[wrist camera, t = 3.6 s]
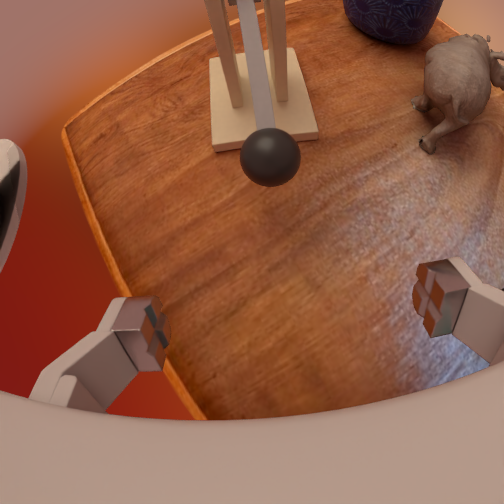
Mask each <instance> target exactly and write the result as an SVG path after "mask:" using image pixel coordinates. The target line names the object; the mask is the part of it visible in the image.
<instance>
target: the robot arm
mask: <svg viewBox="0 0 504 504" xmlns="http://www.w3.org/2000/svg"><path fill="white" fill-rule="evenodd" d="M416 276H417V277H418V279H419V280H418V281H417V283H416V284H415V285H414V287H413V293H412V298H413V305H414V308H415V310H416V312H417V314H418V315H420V316H422V317H423V318H424V321H423V325H424V327H425V329H426V330H427V332H428V334H429V336H430V338H434V337H438V336H442V335H446V334H450V333H452V335H454V336H455V337H456V338H458V339H459V340H460V341H462V342H463V343H464V344H466V345H467V346H468V347H469V348H471V349H472V350H473V351H475V352H476V353H477V354H478V355H480V356H481V357H482V358H484V359H485V360H486V361H487V362H489V363H490V365H489V367H488V368H485V369H483V370H480V371H478V372H475V373H472V374H470V375H467V376H464V377H461V378H459V379H456V380H453V381H450V382H447V383H444V384H441V385H438V386H435V387H431V388H428V389H425V390H421V391H418V392H414V393H411V394H407V395H403V396H399V397H395V398H391V399H387V400H383V401H379V402H374V403H370V404H365V405H360V406H355V407H350V408H344V409H338V410H332V411H326V412H319V413H312V414H304V415H295V416H286V417H275V418H262V419H245V420H168V419H152V418H139V417H129V416H120V415H112V414H108V413H107V412H106V411H105V410H106V409H107V408H108V407H109V406H110V405H111V403H112V402H113V401H114V400H115V399H116V398H117V397H118V395H119V394H120V393H121V392H122V391H123V390H124V389H125V387H126V386H127V385H128V384H129V383H130V382H131V380H132V379H133V378H134V377H135V376H136V375H137V374H138V371H162V370H163V366H164V362H165V358H166V353H165V351H164V349H165V348H166V347H167V346H168V345H169V343H170V339H171V327H170V323H169V320H168V317H167V316H166V315H165V314H164V313H162V312H161V309H162V306H163V305H162V303H161V301H160V299H159V297H158V296H156V295H153V296H135V297H120V298H115V299H113V300H112V302H111V303H110V305H109V307H108V309H107V311H106V313H105V315H104V317H103V319H102V321H101V322H100V324H99V326H98V328H97V330H96V332H91V333H90V334H88V335H87V336H86V337H84V338H83V339H82V340H80V341H79V342H78V343H77V344H75V345H74V346H73V347H71V348H70V349H69V350H68V351H66V352H65V353H64V354H62V355H61V356H60V357H59V358H57V359H56V360H55V361H53V362H52V363H51V364H50V365H48V366H47V367H46V368H45V369H44V370H42V372H41V374H40V376H39V378H38V380H37V382H36V384H35V386H34V388H33V390H32V392H31V394H30V396H29V398H24V397H20V396H17V395H13V394H9V393H6V392H3V391H0V504H504V291H502V290H500V289H497V288H495V287H493V286H491V285H489V284H483V283H482V282H481V280H480V279H479V278H478V277H477V276H476V274H475V273H474V272H473V271H472V270H471V269H470V268H469V266H468V265H467V264H466V263H465V262H464V261H463V260H462V259H461V258H460V257H457V256H456V257H452V258H447V259H444V260H439V261H433V262H427V263H421V264H419V266H418V268H417V272H416Z"/></svg>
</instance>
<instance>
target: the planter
mask: <svg viewBox="0 0 504 504" xmlns="http://www.w3.org/2000/svg"><path fill="white" fill-rule="evenodd" d="M442 2H443V0H343V4H344V9H345V13H346V15H347V17H348V18H349V20H350V21H351V22H352V23H353V24H354V25H355V26H356V27H357V28H359V29H360V30H361V31H363V32H365V33H367V34H368V35H370V36H373V37H375V38H377V39H380V40H383V41H386V42H390V43H395V44H414V43H417V42H420V41H421V40H423V39H424V38H425V37H426V36H427V34H428V33H429V31H430V29H431V27H432V26H433V24H434V22H435V19H436V17H437V15H438V12H439V10H440V7H441V5H442Z"/></svg>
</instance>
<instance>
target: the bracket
mask: <svg viewBox="0 0 504 504" xmlns="http://www.w3.org/2000/svg"><path fill="white" fill-rule="evenodd" d="M204 1H205V5H206V9H207V12H208V16H209V20H210V23H211V27H212V31H213V35H214V38H215V42H216V46H217V50H218V54H219V57H216V58H211V59H209V65H210V103H211V131H212V146H213V148H214V151H215V152H220V151H226V150H232V149H239V148H242V145H243V143H244V141H245V140H246V138H247V137H248V136H249V135H250V134H252V133H253V132H255V131H257V127H256V120H255V113H254V107H253V100H252V94H251V87H250V81H249V74H248V68H247V62H246V55H245V53H241V54H235V49H234V45H233V40H232V35H231V30H230V26H229V21H228V16H227V12H226V7H225V3H224V0H204ZM263 1H264V10H265V20H266V29H267V39H268V50H264V57H265V63H266V69H267V75H268V81H269V87H270V93H271V99H272V106H273V112H274V119H275V125H276V128H278V129H281V130H283V131H285V132H287V133H288V134H290V135H291V136H292V137H293V138H294V139H295V141H305V140H316V139H318V134H319V131H318V127H317V123H316V119H315V116H314V112H313V109H312V105H311V102H310V98H309V95H308V92H307V88H306V85H305V82H304V78H303V75H302V72H301V69H300V66H299V63H298V60H297V57H296V54H295V51H294V48H287V45H286V21H285V1H284V0H263Z"/></svg>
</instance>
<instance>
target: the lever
mask: <svg viewBox="0 0 504 504" xmlns="http://www.w3.org/2000/svg"><path fill="white" fill-rule="evenodd" d="M254 2H261V0H228V3H229V5H230V6H232V5H237V8H238V14H239V19H240V25H241V31H242V37H243V43H244V49H245V55H246V62H247V68H248V74H249V81H250V87H251V94H252V100H253V107H254V113H255V120H256V127H257V131H255V132H253V133H252V134H250V135H249V136H248V137H247V138H246V140H245V141H244V143H243V145H242V148H241V151H240V162H241V166H242V169H243V171H244V173H245V174H246V175H247V176H248V178H249V179H251V180H252V181H253V182H255V183H257V184H259V185H262V186H266V187H275V186H279V185H282V184H284V183H286V182H288V181H289V180H290V179H292V178H293V176H294V175H295V174H296V172H297V171H298V168H299V166H300V160H301V155H300V149H299V146H298V144H297V142H296V141H295V139H294V138H293V137H292V136H291V135H290V134H288V133H287V132H285V131H283V130H281V129H278V128H276V125H275V119H274V112H273V106H272V99H271V93H270V87H269V81H268V75H267V69H266V63H265V57H264V51H263V46H262V40H261V35H260V29H259V24H258V19H257V14H256V9H255V4H254Z"/></svg>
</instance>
